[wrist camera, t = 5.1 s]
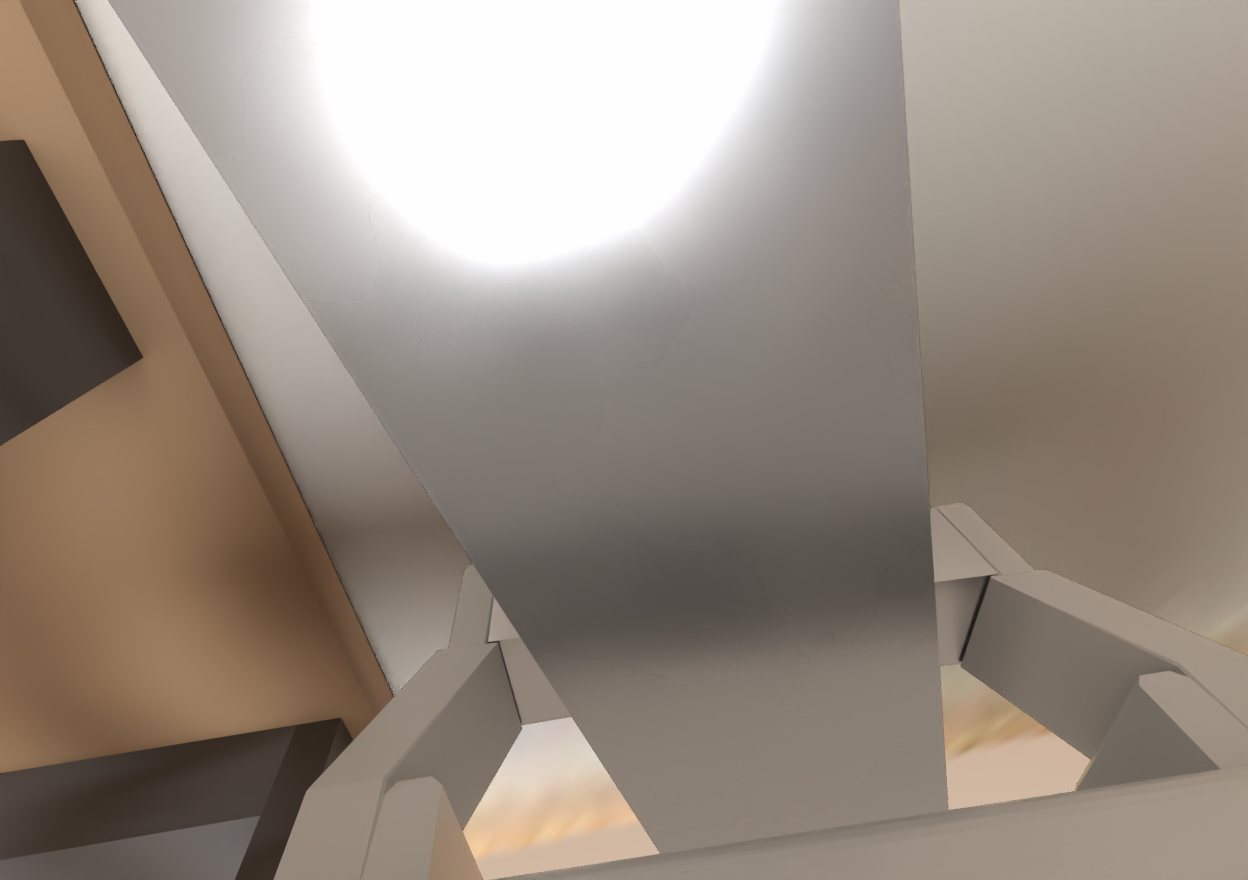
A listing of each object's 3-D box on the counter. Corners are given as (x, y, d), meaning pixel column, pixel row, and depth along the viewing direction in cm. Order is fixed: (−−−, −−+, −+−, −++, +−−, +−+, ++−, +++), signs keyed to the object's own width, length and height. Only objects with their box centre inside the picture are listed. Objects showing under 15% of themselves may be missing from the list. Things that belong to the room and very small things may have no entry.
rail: (308, -35, 7) (-31, -215, 3) (676, -193, 6) (859, -649, 2) (700, 771, 16) (744, 984, 12) (858, 727, 15) (956, 931, 12)
